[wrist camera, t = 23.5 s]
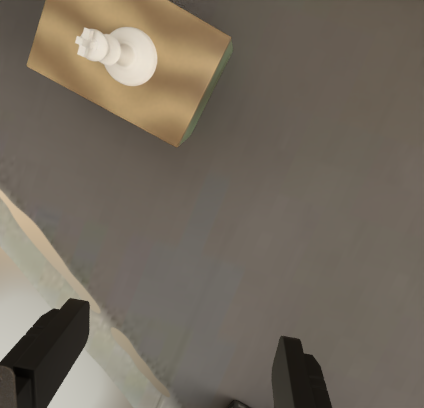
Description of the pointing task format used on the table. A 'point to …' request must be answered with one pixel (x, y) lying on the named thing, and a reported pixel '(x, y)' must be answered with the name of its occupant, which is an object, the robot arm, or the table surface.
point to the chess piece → (121, 53)
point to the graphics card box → (237, 405)
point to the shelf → (165, 70)
